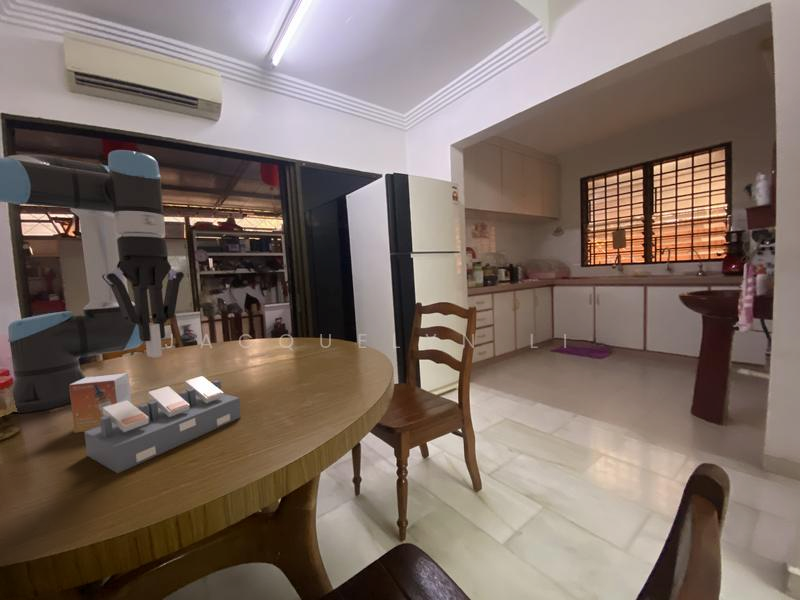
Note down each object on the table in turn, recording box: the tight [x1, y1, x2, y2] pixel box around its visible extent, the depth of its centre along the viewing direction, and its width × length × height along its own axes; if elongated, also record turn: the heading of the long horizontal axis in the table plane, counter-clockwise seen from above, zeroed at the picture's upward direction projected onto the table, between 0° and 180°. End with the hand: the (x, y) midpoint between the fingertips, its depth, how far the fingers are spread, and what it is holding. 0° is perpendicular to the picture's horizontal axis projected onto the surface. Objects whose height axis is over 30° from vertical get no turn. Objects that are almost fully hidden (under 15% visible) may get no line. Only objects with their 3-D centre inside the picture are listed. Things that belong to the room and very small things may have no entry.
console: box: [83, 380, 242, 474], centre depth 64 cm, size 12×22×8 cm, turn 152°
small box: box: [69, 372, 132, 434], centre depth 70 cm, size 8×6×10 cm
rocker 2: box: [147, 385, 190, 417], centre depth 64 cm, size 8×4×1 cm, turn 62°
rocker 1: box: [103, 400, 149, 432], centre depth 58 cm, size 8×4×1 cm, turn 62°
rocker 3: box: [184, 375, 224, 403], centre depth 70 cm, size 8×4×1 cm, turn 62°
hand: (154, 355), depth 64 cm, fingers closed
